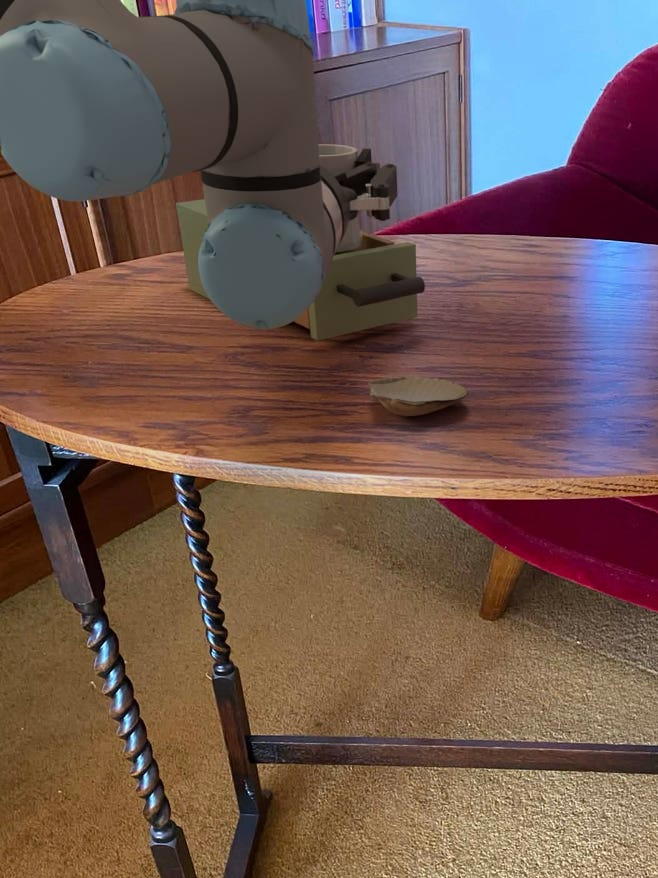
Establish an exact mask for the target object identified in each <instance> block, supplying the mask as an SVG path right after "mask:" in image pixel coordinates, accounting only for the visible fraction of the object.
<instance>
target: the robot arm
mask: <svg viewBox="0 0 658 878" xmlns="http://www.w3.org/2000/svg"><path fill="white" fill-rule="evenodd" d="M306 1H307V0H175V3H176V4H175V5H176V8H175V10H174V13H172V14H165V15H154V16H137V15H135V14H134V13H133V12H131V10H130V9H128V7H126V5H125V4H124V3H123V2H122V1H121V0H0V152H1V153H0V154H1V156H2V157H3V158H4V160H5V162H6V163H7V165H8V166H9V167H10V168H11V169H12V170H13V171H14V172H15V174H17V175H18V176H19V178H21V179H22V180H23V181H24V182H25V183H27V184H28V185H29V186H31V187H33V188H34V189H35V190H37V191H39V192H40V193H42V194H44V195H45V196H48V197H51V198H55V199H57V200H60V201H65V202H87V201H94V200H95V201H96V200H102V199H108V198H113V197H128V196H133V195H136V194H137V193H141V192H143V191H146V190H147V189H148V188H149V187H151V186H153V185H155V184H158V183H162V182H164V181H168V180H171V179H174V178H177V177H180V176H183V175H187V174H190V173H195V172H196V173H197V172H200V177H201V182H202V192H203V197H204V198H203V199H205V205H206V212H207V219H208V229H207V230H206V231H205V234H204V236H203V237H202V238H203V241H202V243H201V247H200V250H199V256H198V268H199V274H200V278H201V282H202V285H203V287H204V290H205V292H206V293H207V295H208V297H209V298H210V299H209V300H210V301H211V303H212V304H213V305H214V306H215V307H216V308H217V310H218V311H220V312H221V313H222V314H223V315H224V316H225V317H226V318H228V319H230V320H231V321H233V322H235V323H237V324H239V325H241V326H244V327H247V328H251V329H257V330H262V331H263V330H264V331H265V330H266V331H267V330H272V329H277V328H278V329H279V328H282V327H284V326H287V325H289V324H291V323H293V322H294V320H296V319H297V318H298V317H299V316H300V315H301V314H302V313H303V312H304V311H305V310H306V309H307V308H308V307H309V306H310V305H311V304H312V303H313V302H314V301H315V298H316V297H318V295H319V292H320V290H321V289H322V283H323V282H324V278H325V275H326V273H327V270H328V268H329V265H330V263H331V261H332V259H333V257H334V255H335V253H336V250H337V249H338V247H339V245H340V243H341V241H342V239H343V237H344V235H345V232H346V229H347V225H348V221H350V220H353V219H354V218H356V217H357V215H358V211H361V212H363V211H364V212H365V211H366V216H367V217H369V218H371V217H373V218H374V219H375V220H378V221H380V222H386V221H387V220H390V219H391V211H390V209H391V206H392V205H393V204H394V201H395V200H396V199H397V197H398V173H397V165H395V164H393V163H386V164H384V165H382V166H381V163H379V162H372V161H373V160H372V148H362V150H361V151H360V153H359V154H358V158H357V160H356V168H353V169H351V170H349V171H346V172H344V173H343V172H329V171H328V170H327V169H325V168H324V167H323V166H321V165H320V161H319V145H318V144H319V134H318V131H319V130H318V115H317V102H316V101H317V99H316V84H315V69H314V54H315V47H314V44H313V42H312V39H311V33H310V32H311V31H310V24H309V16H308V9H307V2H306Z"/></svg>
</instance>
